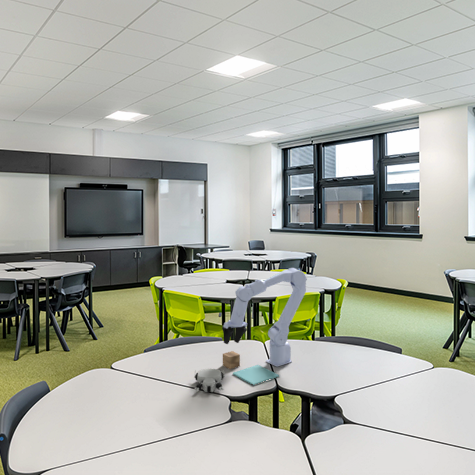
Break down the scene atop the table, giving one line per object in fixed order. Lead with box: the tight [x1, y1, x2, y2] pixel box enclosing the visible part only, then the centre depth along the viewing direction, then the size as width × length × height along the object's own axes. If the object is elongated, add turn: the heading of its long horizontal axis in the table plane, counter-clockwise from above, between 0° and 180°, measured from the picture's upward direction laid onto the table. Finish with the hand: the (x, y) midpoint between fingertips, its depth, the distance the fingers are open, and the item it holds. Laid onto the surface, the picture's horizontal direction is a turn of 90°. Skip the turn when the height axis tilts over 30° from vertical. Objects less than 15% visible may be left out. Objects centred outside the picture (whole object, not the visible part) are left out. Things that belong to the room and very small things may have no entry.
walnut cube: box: [222, 350, 241, 370], centre depth 187 cm, size 6×6×6 cm
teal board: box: [232, 364, 280, 386], centre depth 177 cm, size 14×14×1 cm
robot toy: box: [193, 368, 225, 393], centre depth 167 cm, size 12×4×15 cm
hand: (231, 342), depth 185 cm, fingers open, 7 cm apart
